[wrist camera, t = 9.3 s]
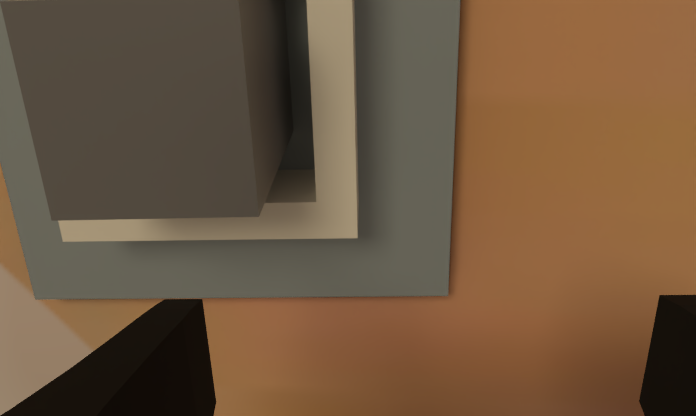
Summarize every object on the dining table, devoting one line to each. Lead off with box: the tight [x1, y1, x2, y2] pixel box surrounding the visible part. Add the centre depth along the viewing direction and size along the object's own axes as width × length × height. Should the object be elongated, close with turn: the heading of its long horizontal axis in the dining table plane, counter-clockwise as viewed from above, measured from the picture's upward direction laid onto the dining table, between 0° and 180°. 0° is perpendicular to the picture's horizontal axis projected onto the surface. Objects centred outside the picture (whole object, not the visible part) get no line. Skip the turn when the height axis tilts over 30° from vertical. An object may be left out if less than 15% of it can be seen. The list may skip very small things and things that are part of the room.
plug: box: [0, 0, 293, 221], centre depth 14 cm, size 4×4×6 cm
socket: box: [0, 0, 460, 299], centre depth 16 cm, size 13×14×4 cm
